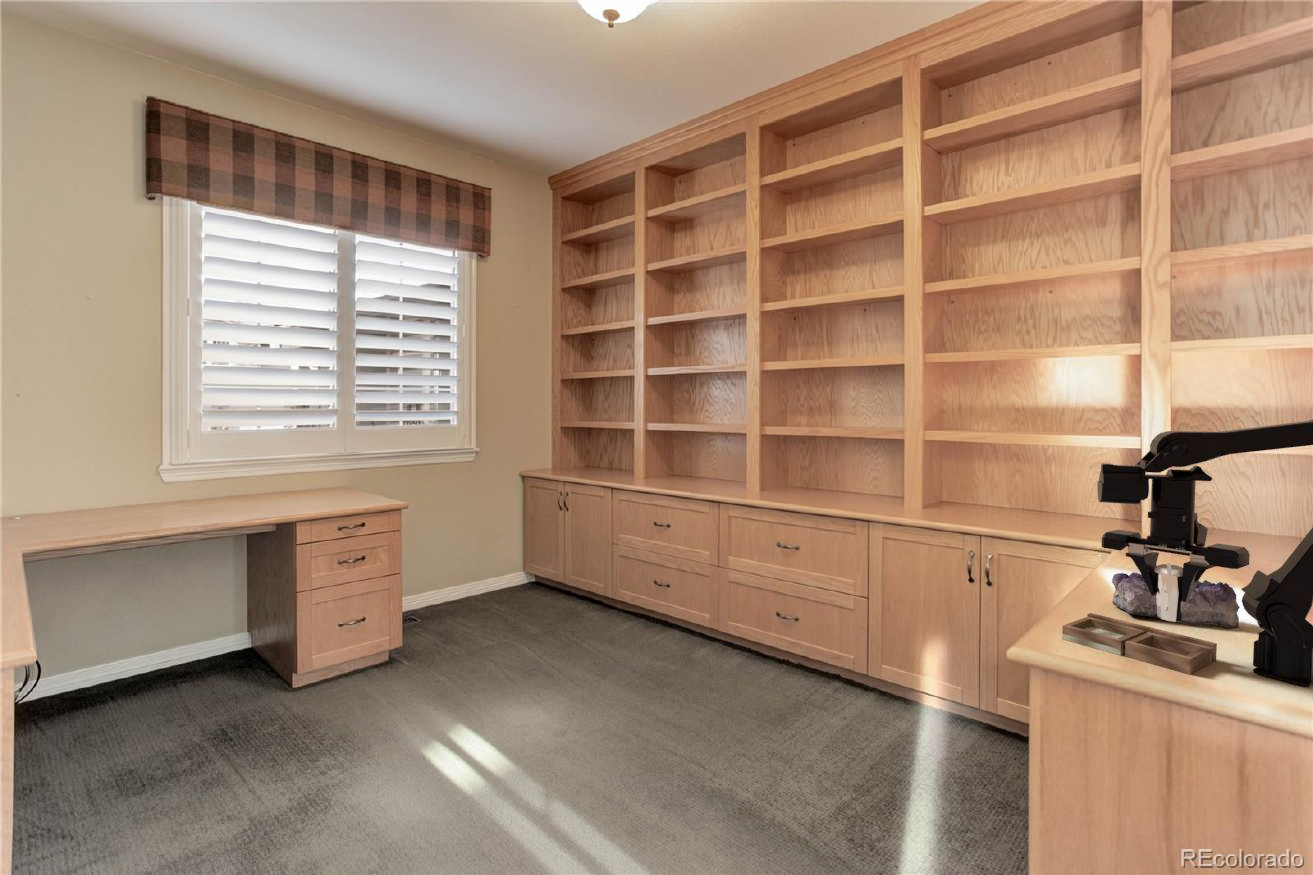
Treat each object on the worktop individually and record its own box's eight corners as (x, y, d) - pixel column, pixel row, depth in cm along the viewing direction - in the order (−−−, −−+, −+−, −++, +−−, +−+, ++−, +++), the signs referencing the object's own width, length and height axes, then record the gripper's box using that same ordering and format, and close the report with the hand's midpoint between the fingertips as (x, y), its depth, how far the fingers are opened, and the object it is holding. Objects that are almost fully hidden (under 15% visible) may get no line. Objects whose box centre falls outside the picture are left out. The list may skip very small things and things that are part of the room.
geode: (1229, 617, 131) (1235, 570, 129) (1245, 642, 121) (1252, 592, 119) (1108, 599, 141) (1112, 555, 139) (1113, 620, 131) (1118, 574, 129)
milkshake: (1149, 620, 108) (1151, 561, 107) (1155, 612, 112) (1157, 555, 111) (1184, 626, 105) (1186, 565, 104) (1188, 618, 108) (1191, 560, 108)
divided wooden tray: (1216, 661, 108) (1216, 643, 108) (1190, 675, 102) (1190, 656, 102) (1090, 628, 124) (1090, 612, 124) (1061, 638, 118) (1062, 622, 118)
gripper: (1263, 509, 104) (1259, 605, 104) (1130, 496, 120) (1127, 579, 120) (1238, 515, 98) (1234, 616, 99) (1101, 501, 114) (1098, 588, 114)
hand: (1169, 598), depth 108 cm, fingers closed on milkshake, 4 cm apart
